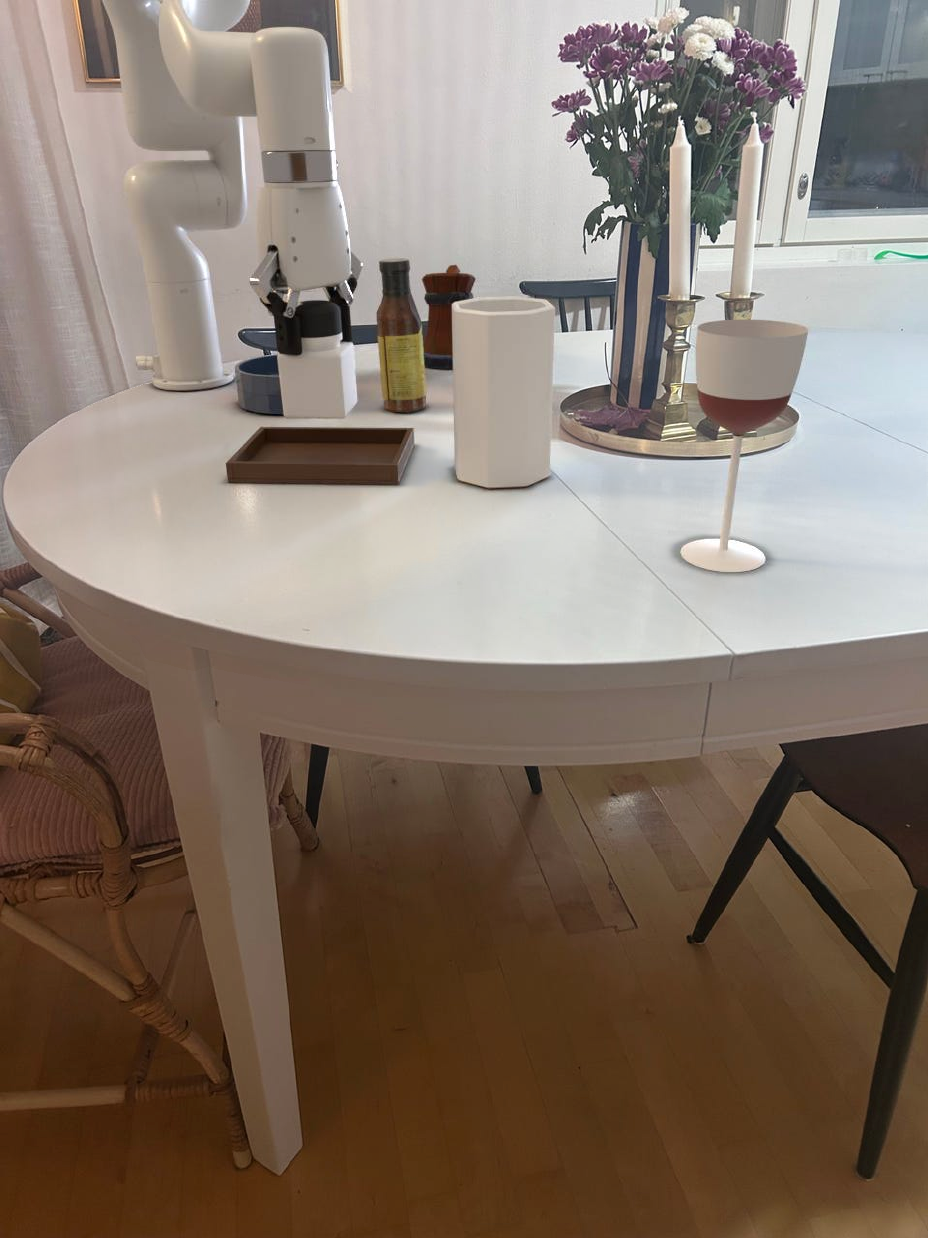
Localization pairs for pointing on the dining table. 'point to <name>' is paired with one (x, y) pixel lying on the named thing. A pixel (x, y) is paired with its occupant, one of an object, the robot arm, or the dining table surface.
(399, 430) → the tray
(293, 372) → the medicine bottle
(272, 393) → the bowl
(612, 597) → the dining table surface
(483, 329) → the cup
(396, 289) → the sauce bottle
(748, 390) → the wineglass
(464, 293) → the wooden pepper grinder
